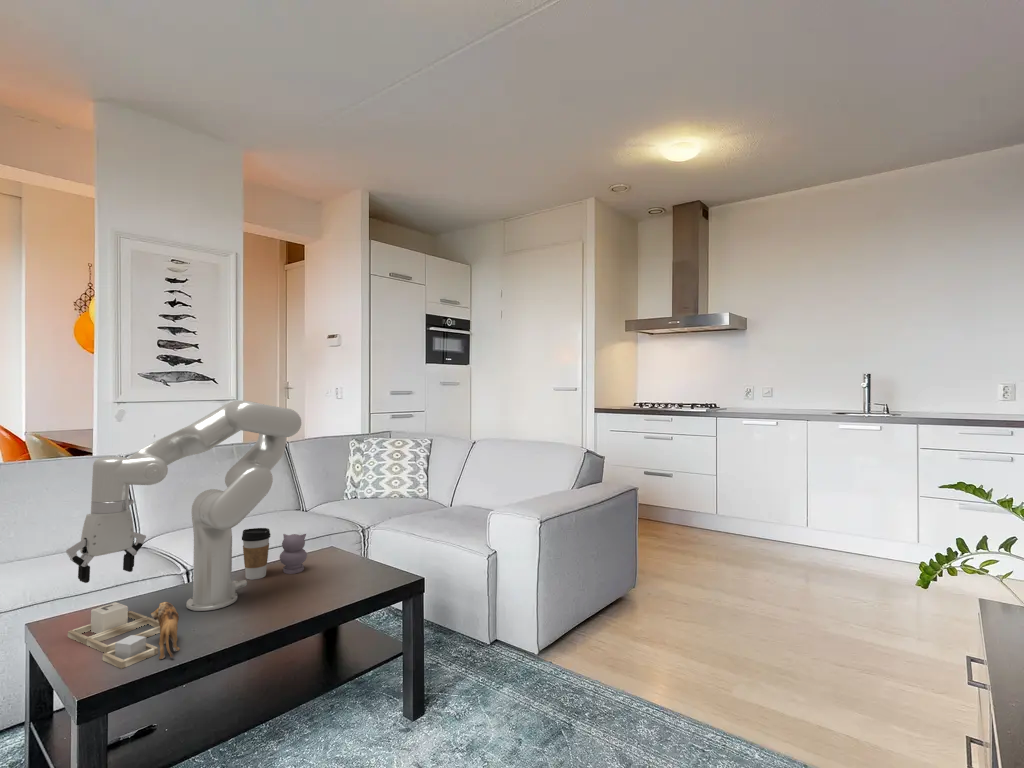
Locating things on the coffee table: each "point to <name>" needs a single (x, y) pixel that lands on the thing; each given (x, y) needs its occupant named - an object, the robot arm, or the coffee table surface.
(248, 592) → the coffee table surface
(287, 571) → the cat figurine
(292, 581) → the coffee table surface
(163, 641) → the lion figurine
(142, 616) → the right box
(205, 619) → the coffee table surface
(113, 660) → the small box
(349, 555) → the coffee table surface
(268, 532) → the coffee cup
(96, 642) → the middle box
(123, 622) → the letter cube
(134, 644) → the grey block
